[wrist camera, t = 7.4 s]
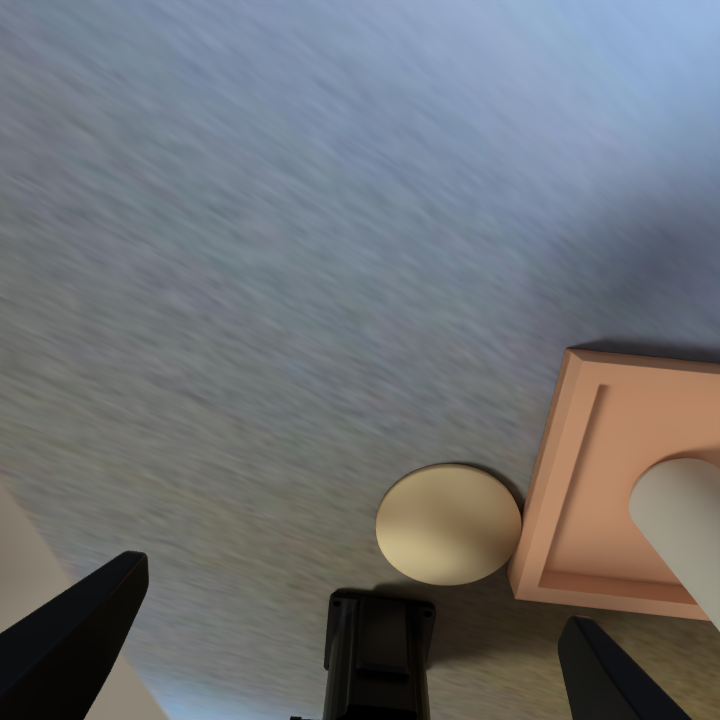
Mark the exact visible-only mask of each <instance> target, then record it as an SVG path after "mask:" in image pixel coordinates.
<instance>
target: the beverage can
mask: <svg viewBox="0 0 720 720" xmlns="http://www.w3.org/2000/svg"><path fill="white" fill-rule="evenodd" d="M628 510H629V514H630V517H631V520H632V521H633V522H634V524H635V525H636V526H637V528H638V529H639V530H640V531H641V533H642V534H643V535H644V536H645V538H646V539H647V540H648V541H649V543H650V544H651V545H652V546H653V548H654V549H655V550H656V552H657V553H658V554H659V555H660V557H661V558H662V559H663V560H664V562H665V563H666V564H667V565H668V567H669V568H670V569H671V571H672V572H673V573H674V574H675V576H676V577H677V578H678V579H679V581H680V582H681V583H682V584H683V586H684V587H685V588H686V590H687V591H688V592H689V593H690V595H691V596H692V597H693V598H694V600H695V601H696V602H697V603H698V605H699V606H700V607H701V608H702V610H703V611H704V612H705V614H706V615H707V616H708V617H709V619H710V620H711V621H712V622H713V624H714V625H715V626H716V627H717V629H718V630H719V631H720V469H719V468H718V467H716V466H715V465H714V464H711V463H709V462H706V461H703V460H700V459H690V458H681V459H672V460H667V461H664V462H661V463H658V464H656V465H654V466H652V467H651V468H649V469H647V470H646V471H645V472H644V473H643V474H641V475H640V476H639V477H638V479H637V480H636V482H635V483H634V484H633V487H632V490H631V492H630V498H629V506H628Z"/></svg>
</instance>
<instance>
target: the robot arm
mask: <svg viewBox="0 0 720 720" xmlns="http://www.w3.org/2000/svg"><path fill="white" fill-rule="evenodd" d="M148 585H149V573H148V558H147V555H146V554H145V553H143V552H137V551H125V552H123V553H121V554H120V555H118V556H117V557H115V558H114V559H112V560H111V561H109V562H108V563H106V564H105V565H103V566H102V567H100V568H99V569H97V570H96V571H94V572H93V573H91V574H90V575H88V576H87V577H85V578H84V579H82V580H81V581H79V582H78V583H76V584H75V585H73V586H71V587H70V588H68V589H67V590H65V591H64V592H63V593H61V594H60V595H58V596H57V597H55V598H53V599H52V600H50V601H49V602H47V603H46V604H44V605H43V606H42V607H40V608H38V609H37V610H35V611H34V612H32V613H31V614H29V615H28V616H26V617H25V618H23V619H22V620H20V621H18V622H17V623H15V624H14V625H12V626H11V627H9V628H8V629H6V630H5V631H3V632H2V633H0V720H84V718H85V716H86V714H87V713H88V711H89V709H90V708H91V705H92V704H93V702H94V701H95V699H96V697H97V695H98V693H99V692H100V690H101V688H102V686H103V684H104V683H105V681H106V679H107V677H108V675H109V673H110V672H111V669H112V667H113V665H114V663H115V661H116V659H117V657H118V655H119V652H120V650H121V648H122V646H123V643H124V641H125V639H126V637H127V635H128V632H129V630H130V628H131V626H132V624H133V621H134V619H135V617H136V615H137V613H138V610H139V608H140V606H141V604H142V602H143V599H144V597H145V595H146V592H147V589H148ZM435 617H436V610H435V606H434V604H432V603H430V602H423V601H414V600H405V599H396V598H387V597H378V596H369V595H360V594H352V593H343V592H334V593H332V594H331V596H330V600H329V610H328V622H327V634H326V646H325V657H324V668H325V669H326V670H327V671H328V679H327V687H326V695H325V704H324V712H323V720H431V719H430V708H429V697H428V685H427V674H426V662H427V657H428V652H429V647H430V642H431V637H432V632H433V627H434V622H435ZM558 655H559V659H560V664H561V668H562V673H563V677H564V682H565V686H566V691H567V695H568V699H569V704H570V708H571V713H572V717H573V720H692V719H691V718H690V717H689V716H688V715H687V714H686V713H685V712H684V711H683V710H682V709H681V707H680V706H679V705H678V704H677V703H676V702H675V701H674V700H673V699H672V698H671V697H670V696H669V695H668V694H667V693H666V692H665V691H664V690H663V689H662V688H661V687H660V686H659V685H658V684H657V683H656V682H655V681H654V680H653V679H652V678H651V677H650V676H649V675H648V674H647V673H646V672H645V671H644V670H643V669H642V668H641V667H640V666H639V665H638V664H637V663H636V662H635V661H634V660H633V659H632V658H631V657H630V656H629V655H628V654H627V653H626V652H625V651H624V650H623V649H622V648H621V647H620V646H619V645H618V644H617V643H616V642H615V641H614V640H613V639H612V638H611V637H610V636H609V635H608V634H607V633H606V632H605V631H604V630H603V629H602V628H601V627H600V626H599V625H598V624H597V623H596V622H595V621H594V620H593V619H592V618H590V617H587V616H581V615H570V616H569V617H568V619H567V621H566V623H565V626H564V628H563V631H562V633H561V635H560V638H559V641H558ZM290 720H311V719H302V717H292V716H291V718H290Z"/></svg>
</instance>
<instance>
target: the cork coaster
mask: <svg viewBox="0 0 720 720" xmlns="http://www.w3.org/2000/svg"><path fill="white" fill-rule="evenodd" d="M376 534H377V540H378V543H379V546H380V548H381V550H382V552H383V554H384V555H385V557H386V558H387V560H388V561H389V562H390V563H391V564H392V565H393V566H394V567H395V568H396V569H398V570H399V571H400V572H402V573H403V574H405V575H407V576H409V577H411V578H413V579H415V580H418V581H421V582H425V583H428V584H434V585H460V584H466V583H470V582H474V581H477V580H479V579H482V578H484V577H486V576H488V575H490V574H492V573H493V572H495V571H496V570H498V569H499V568H500V567H501V566H503V565H504V564H505V563H506V562H507V561H508V559H509V558H510V557H511V555H512V554H513V553H514V551H515V549H516V547H517V545H518V542H519V540H520V535H521V517H520V513H519V510H518V507H517V505H516V502H515V500H514V498H513V497H512V495H511V493H510V492H509V491H508V489H507V488H506V487H505V486H504V485H503V484H502V483H501V482H500V481H499V480H498V479H496V478H495V477H494V476H492V475H490V474H488V473H487V472H485V471H482V470H480V469H477V468H474V467H471V466H466V465H460V464H438V465H432V466H427V467H424V468H420V469H418V470H416V471H413V472H411V473H409V474H407V475H406V476H404V477H402V478H401V479H400V480H398V481H397V482H396V483H395V484H394V485H393V486H392V487H391V488H390V489H389V490H388V491H387V493H386V494H385V495H384V497H383V499H382V501H381V503H380V505H379V508H378V512H377V517H376Z"/></svg>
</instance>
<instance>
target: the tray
mask: <svg viewBox="0 0 720 720" xmlns="http://www.w3.org/2000/svg"><path fill="white" fill-rule="evenodd" d="M681 458H690V459H700V460H703V461H706V462H709V463H711V464H714V465H715V466H716V467H718V468H719V469H720V363H711V362H701V361H691V360H681V359H671V358H661V357H651V356H641V355H630V354H620V353H610V352H600V351H590V350H580V349H570V348H566V351H565V354H564V358H563V362H562V366H561V369H560V373H559V377H558V381H557V384H556V388H555V392H554V396H553V400H552V403H551V407H550V411H549V415H548V418H547V422H546V426H545V430H544V433H543V437H542V441H541V445H540V448H539V452H538V456H537V460H536V463H535V467H534V471H533V475H532V478H531V482H530V486H529V490H528V493H527V497H526V501H525V505H524V509H523V512H522V516H521V535H520V540H519V542H518V545H517V547H516V549H515V551H514V553H513V554H512V555H511V557H510V561H509V565H508V569H507V572H506V573H507V576H508V579H509V582H510V585H511V588H512V591H513V594H514V597H515V599H520V600H529V601H538V602H547V603H556V604H564V605H573V606H582V607H591V608H600V609H609V610H618V611H627V612H636V613H645V614H654V615H663V616H671V617H680V618H689V619H698V620H707V621H711V620H710V619H709V617H708V616H707V615H706V614H705V612H704V611H703V610H702V608H701V607H700V606H699V605H698V603H697V602H696V601H695V600H694V598H693V597H692V596H691V595H690V593H689V592H688V591H687V590H686V588H685V587H684V586H683V584H682V583H681V582H680V581H679V579H678V578H677V577H676V576H675V574H674V573H673V572H672V571H671V569H670V568H669V567H668V565H667V564H666V563H665V562H664V560H663V559H662V558H661V557H660V555H659V554H658V553H657V552H656V550H655V549H654V548H653V546H652V545H651V544H650V543H649V541H648V540H647V539H646V538H645V536H644V535H643V534H642V533H641V531H640V530H639V529H638V528H637V526H636V525H635V524H634V522H633V521H632V520H631V517H630V514H629V510H628V506H629V498H630V492H631V490H632V487H633V484H634V483H635V482H636V480H637V479H638V477H639V476H640V475H641V474H643V473H644V472H645V471H646V470H647V469H649V468H651V467H652V466H654V465H656V464H658V463H661V462H664V461H667V460H672V459H681Z"/></svg>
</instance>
